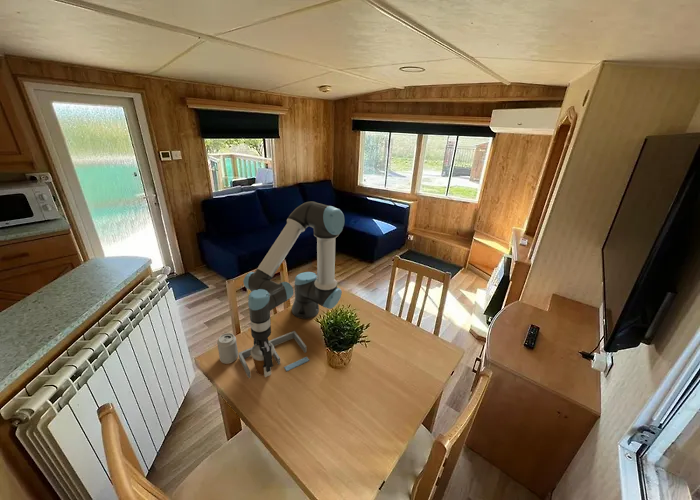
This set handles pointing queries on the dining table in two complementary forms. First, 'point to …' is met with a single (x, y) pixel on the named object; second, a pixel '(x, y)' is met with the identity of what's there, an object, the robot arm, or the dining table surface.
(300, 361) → the blue rectangular block
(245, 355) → the comb rack
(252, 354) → the disposable coffee cup
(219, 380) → the dining table surface
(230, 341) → the can
